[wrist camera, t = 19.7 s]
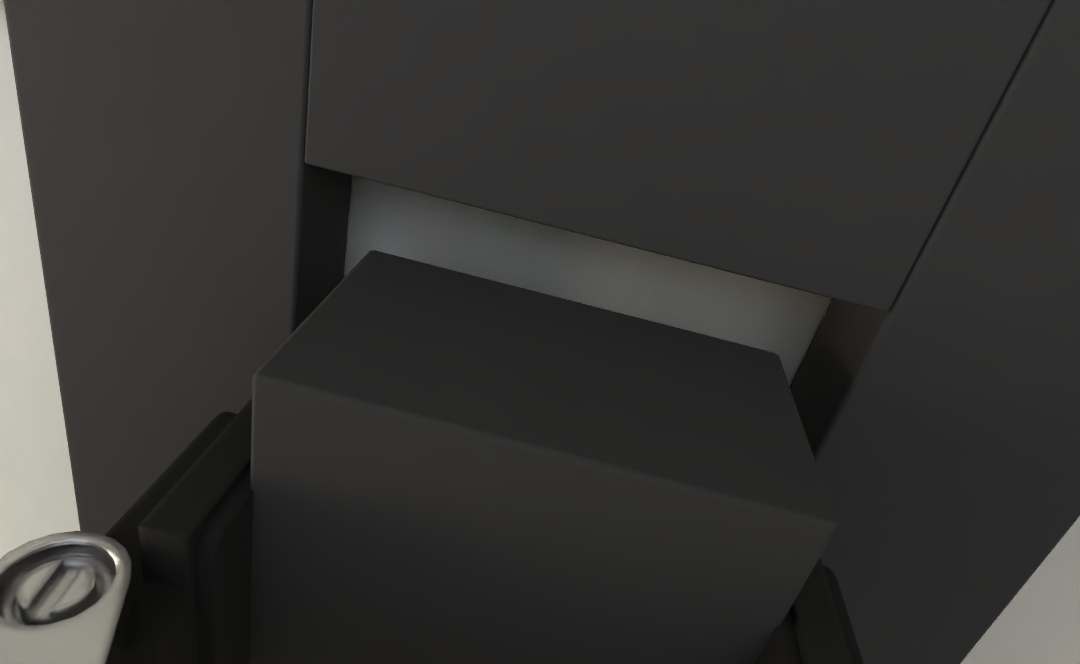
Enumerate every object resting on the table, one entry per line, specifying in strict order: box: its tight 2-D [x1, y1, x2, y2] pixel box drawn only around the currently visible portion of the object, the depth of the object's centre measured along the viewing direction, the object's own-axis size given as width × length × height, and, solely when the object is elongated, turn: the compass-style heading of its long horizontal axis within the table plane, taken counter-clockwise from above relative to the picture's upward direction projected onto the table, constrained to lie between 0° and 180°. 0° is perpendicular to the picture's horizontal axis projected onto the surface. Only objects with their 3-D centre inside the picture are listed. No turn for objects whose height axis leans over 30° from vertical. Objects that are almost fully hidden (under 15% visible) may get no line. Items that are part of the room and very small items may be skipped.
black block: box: [247, 251, 836, 664], centre depth 10 cm, size 6×6×4 cm
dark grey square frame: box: [4, 0, 1080, 664], centre depth 12 cm, size 16×16×2 cm
